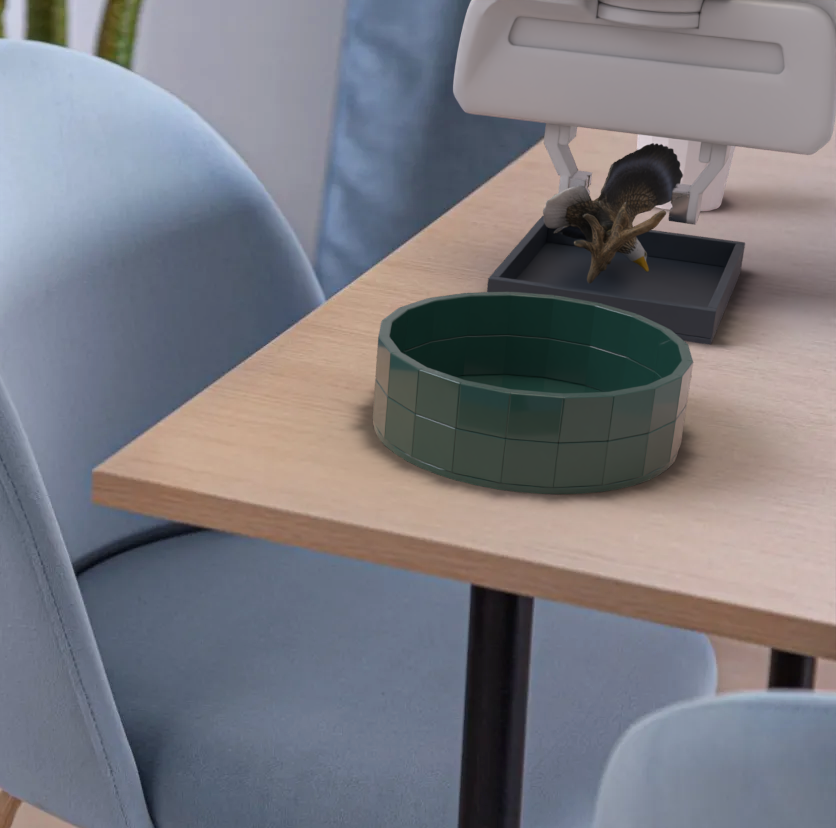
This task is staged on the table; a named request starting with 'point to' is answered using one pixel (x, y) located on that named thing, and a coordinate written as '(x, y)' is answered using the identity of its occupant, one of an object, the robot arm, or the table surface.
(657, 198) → the eagle figurine
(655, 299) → the tray
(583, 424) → the pot
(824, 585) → the table surface
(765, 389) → the table surface
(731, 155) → the white cup
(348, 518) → the table surface
